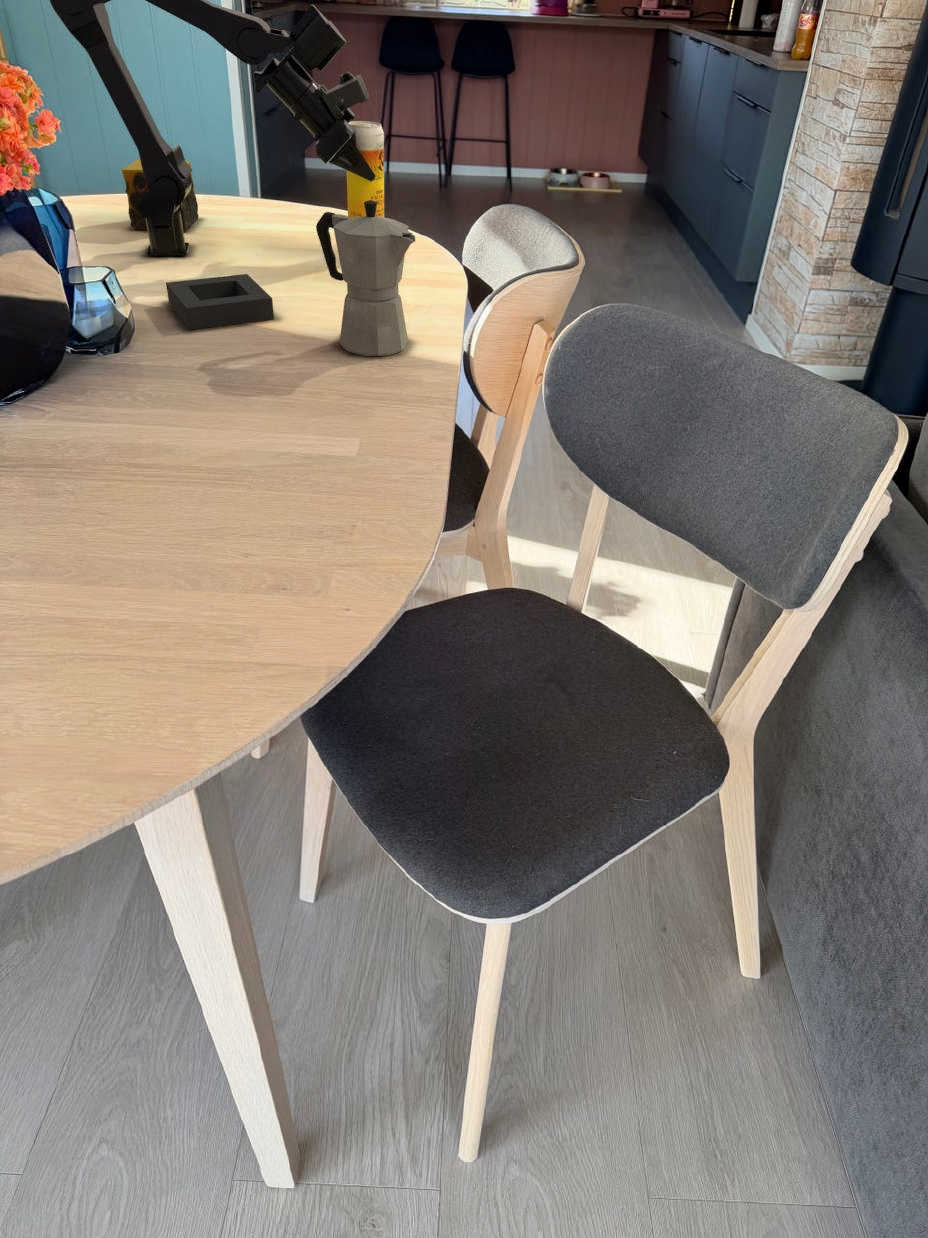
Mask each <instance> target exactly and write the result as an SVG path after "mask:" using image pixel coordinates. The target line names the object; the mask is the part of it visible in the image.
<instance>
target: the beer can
mask: <svg viewBox="0 0 928 1238" xmlns="http://www.w3.org/2000/svg"><path fill="white" fill-rule="evenodd" d="M348 124H349V125H350V126H351V128H352V129H353V132H354V131H355V130H356V145H357V148H358V149H359V151H360V152H361V154H362V155H363V157H364V158H365V160H366V161H367V163H368V164H369V166H370V168H371V169H372V171H373V172H374V174H375V176H376V177H375V179H374V180H373V181H369V180H367V179H365V178H363V177H361V176H358V175H356V174H354V173H352V172H350V171H348V170H346V194H347V195H346V196H347V198H346V199H347V216H348V217H349V218H350V219H351V218H356V217H362V216H366V211H365V206H364V202H365V201H368V200H372V201H375V202H377V208H376V214H375V216H379V217H384V218H385V132H384V129H383V126H382V123H380V122H376V121H368V120H357V121H355V120H354V121H353V120H352V121H349V122H348Z"/></svg>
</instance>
